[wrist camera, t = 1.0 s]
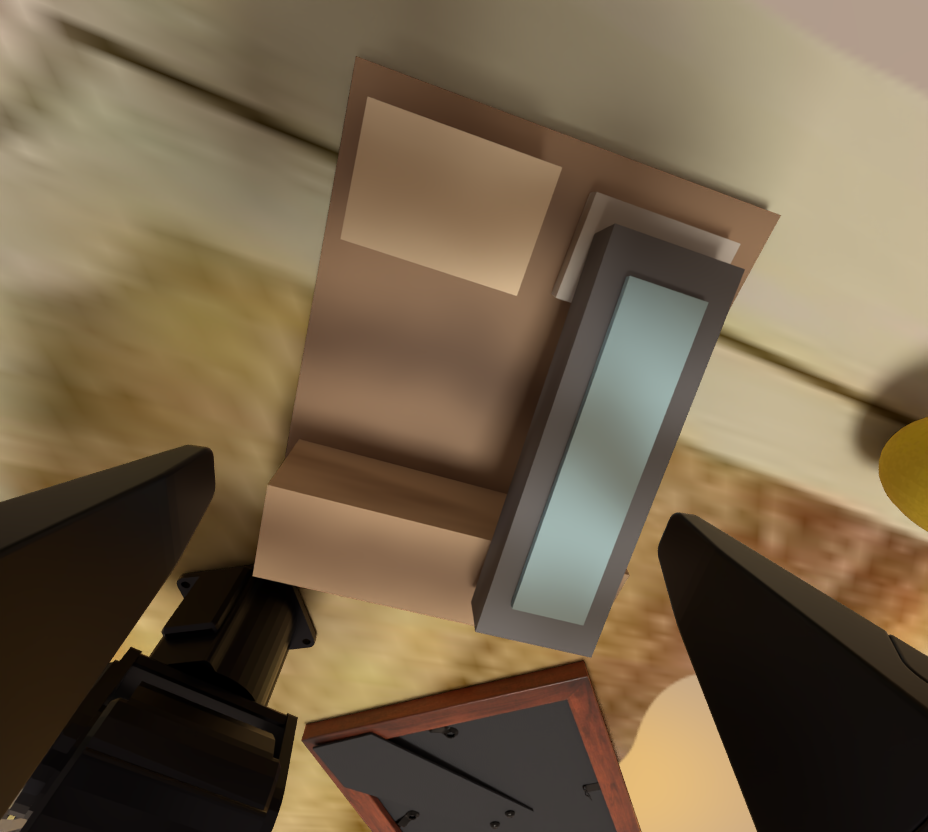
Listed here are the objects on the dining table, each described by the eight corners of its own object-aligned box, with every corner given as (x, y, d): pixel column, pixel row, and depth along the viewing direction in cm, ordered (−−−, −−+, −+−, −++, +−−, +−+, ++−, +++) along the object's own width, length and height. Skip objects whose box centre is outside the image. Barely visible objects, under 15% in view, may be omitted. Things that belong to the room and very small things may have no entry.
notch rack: (568, 584, 27) (589, 659, 23) (279, 514, 25) (239, 581, 21) (765, 214, 19) (860, 217, 15) (361, 63, 17) (324, 13, 13)
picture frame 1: (576, 626, 21) (593, 662, 19) (470, 601, 20) (476, 636, 18) (711, 274, 18) (750, 268, 16) (594, 234, 18) (618, 221, 15)
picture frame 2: (309, 715, 33) (430, 879, 43) (300, 744, 32) (428, 908, 41) (581, 652, 31) (645, 841, 41) (588, 680, 29) (653, 871, 39)
